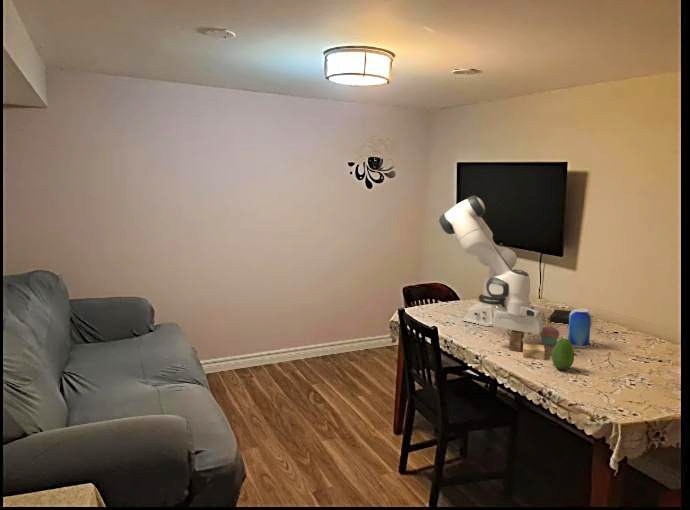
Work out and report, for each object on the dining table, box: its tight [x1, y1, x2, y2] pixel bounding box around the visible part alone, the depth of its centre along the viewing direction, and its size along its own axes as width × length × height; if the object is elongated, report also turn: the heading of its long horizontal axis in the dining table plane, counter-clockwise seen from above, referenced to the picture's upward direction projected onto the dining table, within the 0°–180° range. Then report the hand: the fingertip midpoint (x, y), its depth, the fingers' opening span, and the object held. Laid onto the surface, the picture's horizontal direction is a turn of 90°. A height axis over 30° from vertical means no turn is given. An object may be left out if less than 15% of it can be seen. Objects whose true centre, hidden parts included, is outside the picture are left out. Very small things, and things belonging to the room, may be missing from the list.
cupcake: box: [538, 316, 560, 345], centre depth 232 cm, size 9×8×12 cm
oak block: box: [522, 342, 546, 361], centre depth 215 cm, size 8×8×4 cm
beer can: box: [567, 307, 592, 349], centre depth 226 cm, size 8×8×16 cm
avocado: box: [551, 338, 575, 371], centre depth 199 cm, size 8×8×12 cm
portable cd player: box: [549, 309, 572, 326], centre depth 268 cm, size 16×17×4 cm
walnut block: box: [508, 330, 525, 353], centre depth 222 cm, size 4×4×8 cm
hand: (516, 340), depth 222 cm, fingers closed on walnut block, 4 cm apart
